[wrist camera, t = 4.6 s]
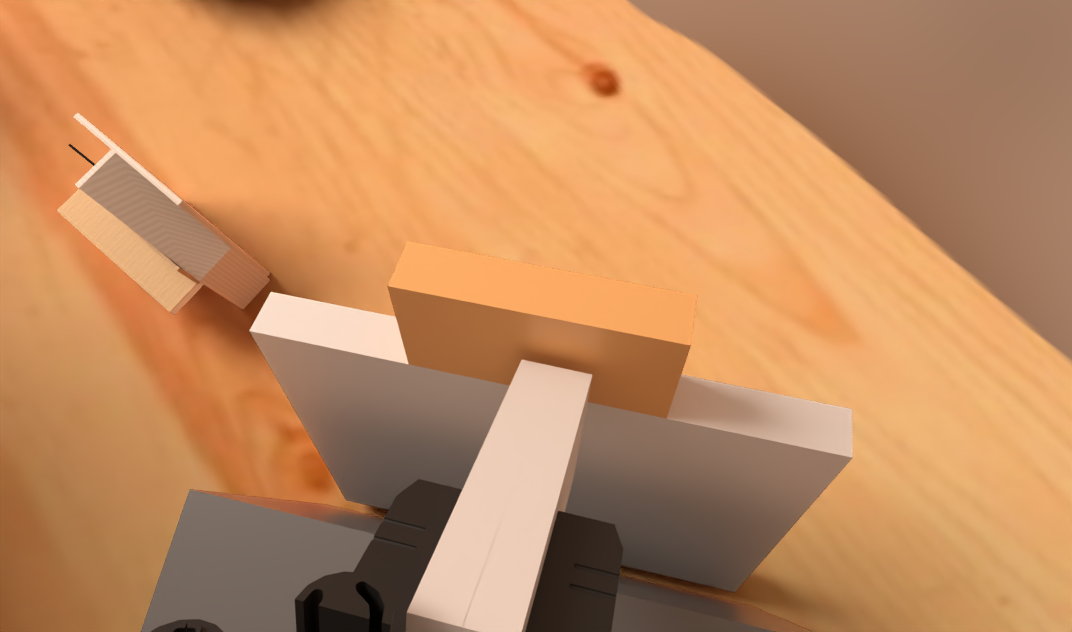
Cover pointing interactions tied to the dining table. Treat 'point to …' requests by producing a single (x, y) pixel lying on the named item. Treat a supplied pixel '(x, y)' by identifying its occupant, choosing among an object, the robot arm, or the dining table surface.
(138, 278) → the architectural model
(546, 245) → the dining table surface
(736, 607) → the camera body
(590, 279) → the side door
